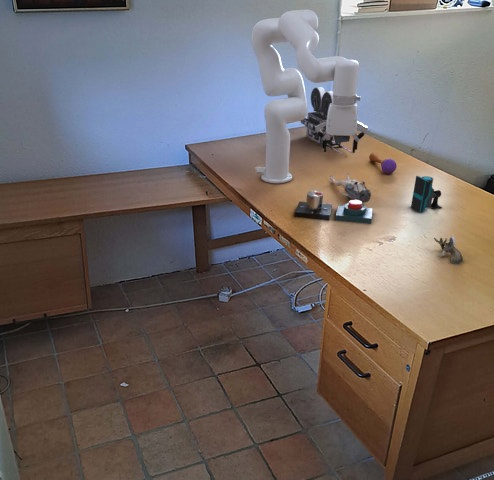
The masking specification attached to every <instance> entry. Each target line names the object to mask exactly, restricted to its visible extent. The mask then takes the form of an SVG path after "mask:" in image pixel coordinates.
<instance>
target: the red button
mask: <svg viewBox="0 0 494 480" xmlns="http://www.w3.org/2000/svg"><path fill="white" fill-rule="evenodd" d="M348 203H349V206H348V207H349V208H351V209H356V210H357V209H361V208H362V204H363V203H362V202H361V201H360V200H352V199H350V200H349V201H348Z"/></svg>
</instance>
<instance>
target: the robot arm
mask: <svg viewBox="0 0 494 480" xmlns="http://www.w3.org/2000/svg"><path fill="white" fill-rule="evenodd" d="M318 27H319V18H318V15H317V14H316V12H315V11H313V10H311V9H308V8H307V9H296V10H295V9H294V10H287V11H285V12H284V13H283V14H282V15H280V17H271V18H265V19H261V20H259V21H257V22H256V23H255V24H254V26H253V27H252V31H251V45H252V49H253V51H254V54H255V56H256V59H257V63H258V67H259V73H260V78H261V84H262V88H263V91H264V94H265V95H266V96H268V97H279V96H280V97H281V96H287V97H284V98H277V99H274V100H271V101H269V102H268V103H267V104H266V105H265V106H264V111H263V114H264V115H263V116H264V123H265V165H264V166H255V167H254V172H256V174H261V177H260V178H261V180H262V181H264V182H266V183H269V184H285V183H289V182H290V181H292V180H293V175H292V174H291V173H290V171H289V170H290V168H289V167H290V153H291V152H290V151H291V150H290V149H291V133H290V130H289V129H288V127H287V125H288V124H292V123H299V122H301V120H303V119H305V118H307V116H308V113H309V111H308V110H309V107H308V101H307V95H306V90H305V89H306V88H305V83H304V79H303V76H304V77H305V78H306V79H307V80H308V81H309V82H312V83H314V84H320V83H326V82H333V85H332V86H333V87H332V88H333V89H332V91H333V98H332V103H330V105H329V109H328V115H327V121H325V122H323V123H321V124H319V125H317V126H316V127H315V129H316V131H317V133H318V135H319V136H320V137H321V138H322V140H323V144H322V146H321V147H322V148H321V149H322V150H323V152H324V153H326V152H327V147H328V146H327V137H328V136H329V135H339V136H350V137H352V138H353V140H352V141H353V142H352V150H351V151H352V152H353V153H352V154H355V152H356V151H357V150H358V146H359V145H358V143H359V141H360V140H361V139H362V138H363V137H364V136H365V134H367V131H369V127H368V126H367V125H365V124H363V123H362V122H359V121H358V116H359V110H358V109H359V107H358V106H359V105H358V103H357V102H361V96H358V95H357V92H358V91H357V90H358V81H359V71H360V62H359V61H358V60H355V59H348V58H346V57H344V56H340V55H335V56H327V57H319V58H318V57H315V56H314V55H313V54H312V53H313V52H314V51H315V49H316V48H317V47H318V45H319V42H320V37H319V34H318V32H317V30H318ZM281 43H289V44H290V45H291V47H293V48H294V49H295V50H296V64H297V68H298V69H297V68H295V67H287V68H283V64H282V58H281V55H280V54H279V52H278V50H277V49H276V48H275V47H274V46H273V44H281ZM302 74H303V76H302ZM325 126H326V133H325V134H323V133H322V132H321V130H320V129H321V128H323V127H325ZM358 128H359V129H361V131H360V132H359V133H357V131H358Z"/></svg>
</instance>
